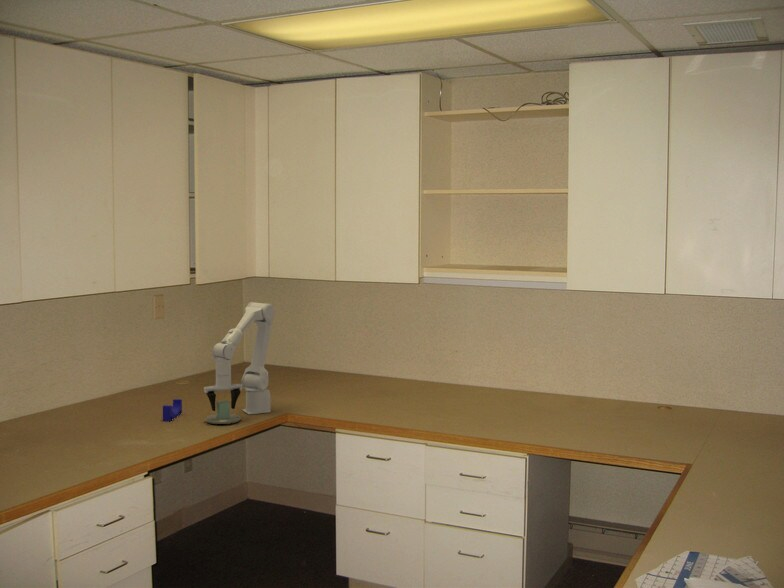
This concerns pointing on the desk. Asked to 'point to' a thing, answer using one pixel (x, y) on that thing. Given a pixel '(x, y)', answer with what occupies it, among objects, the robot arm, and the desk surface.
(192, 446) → the desk surface
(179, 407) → the cable clip
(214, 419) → the slate plate
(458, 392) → the desk surface
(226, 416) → the pale green block
